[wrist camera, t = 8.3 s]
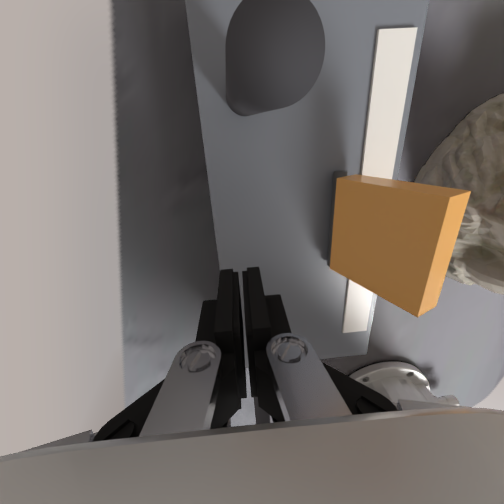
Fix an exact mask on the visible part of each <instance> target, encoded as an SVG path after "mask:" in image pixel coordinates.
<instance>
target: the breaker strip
mask: <svg viewBox="0 0 504 504" xmlns="http://www.w3.org/2000/svg"><path fill="white" fill-rule="evenodd" d="M241 1H242V0H185V6H186V14H187V21H188V29H189V37H190V44H191V52H192V60H193V68H194V75H195V83H196V91H197V98H198V106H199V114H200V122H201V129H202V137H203V145H204V152H205V160H206V168H207V176H208V183H209V191H210V199H211V207H212V214H213V222H214V230H215V237H216V245H217V253H218V261H219V268H220V270H223V269H233V272H238V275H239V286H240V296H241V307H242V317H243V330H244V351H245V368H247V367H249V364H248V352H247V341H246V329H245V313H244V296H243V279H242V271H247V267H259V269H260V274H261V279H262V284H263V290H264V295H276V294H280V295H281V298H282V302H283V305H284V309H285V312H286V315H287V319H288V322H289V326H290V329H291V333H293V334H297V335H300V336H302V337H304V338H305V339H307V340H308V341H309V342H310V344H311V345H312V347H313V348H314V350H315V352H316V354H317V355H318V357H319V359H328V358H337V357H346V356H355V355H364V354H367V348H368V343H369V337H370V332H371V326H372V320H373V315H374V309H375V303H376V298H377V295H376V294H375V293H373V292H371V291H369V290H367V289H366V288H364V287H362V286H360V285H358V284H357V283H355V282H353V281H351V280H349V279H348V278H346V277H344V276H342V275H340V274H339V273H337V272H335V271H333V270H331V269H330V267H329V266H327V257H328V243H329V230H330V216H331V202H332V189H333V175H334V171H348V174H347V176H350V175H355V174H358V175H365V176H372V177H379V178H386V179H392V180H398V174H399V168H400V163H401V157H402V152H403V146H404V140H405V135H406V129H407V124H408V118H409V112H410V107H411V101H412V95H413V90H414V84H415V79H416V73H417V67H418V62H419V56H420V50H421V45H422V39H423V34H424V28H425V22H426V17H427V11H428V5H429V0H310V1H311V2H312V4H313V5H314V7H315V8H316V10H317V12H318V14H319V16H320V18H321V21H322V25H323V29H324V34H325V56H324V61H323V66H322V69H321V72H320V74H319V76H318V79H317V81H316V82H315V84H314V86H313V87H312V88H311V90H310V91H309V92H308V93H307V94H306V95H305V96H304V97H303V98H302V99H301V100H299V101H298V102H296V103H295V104H293V105H291V106H288V107H285V108H281V109H276V110H272V111H268V112H263V113H259V114H254V115H250V116H240V115H237V114H236V113H234V112H233V111H232V110H231V109H230V107H229V106H228V103H227V100H226V60H225V44H226V35H227V30H228V26H229V23H230V20H231V18H232V16H233V13H234V12H235V10H236V8H237V7H238V5H239V4H240V3H241Z"/></svg>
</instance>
